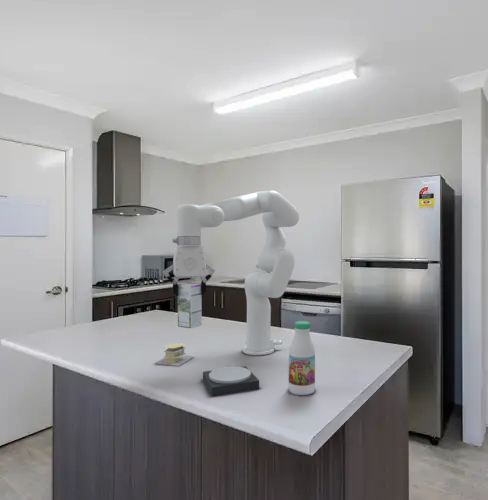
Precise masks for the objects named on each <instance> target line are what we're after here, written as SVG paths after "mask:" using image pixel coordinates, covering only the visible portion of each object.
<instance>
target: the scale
mask: <svg viewBox="0 0 488 500" xmlns="http://www.w3.org/2000/svg"><path fill="white" fill-rule="evenodd" d="M202 381H203V382H204V384H205V386H206V388H207V390H208V392H209V394H210V396H211V397H215V396H216V397H217V396H223V395H228V394H235V393H242V392H247V391H255V390H260V379H259V378H258V377H257V376H256V375H255V374H254V373H253V372H252V371H251V370H250V369H249V368H248V366H246V365H245V366H223V367H219V368H215V369H212V370H206V371H202Z"/></svg>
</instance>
